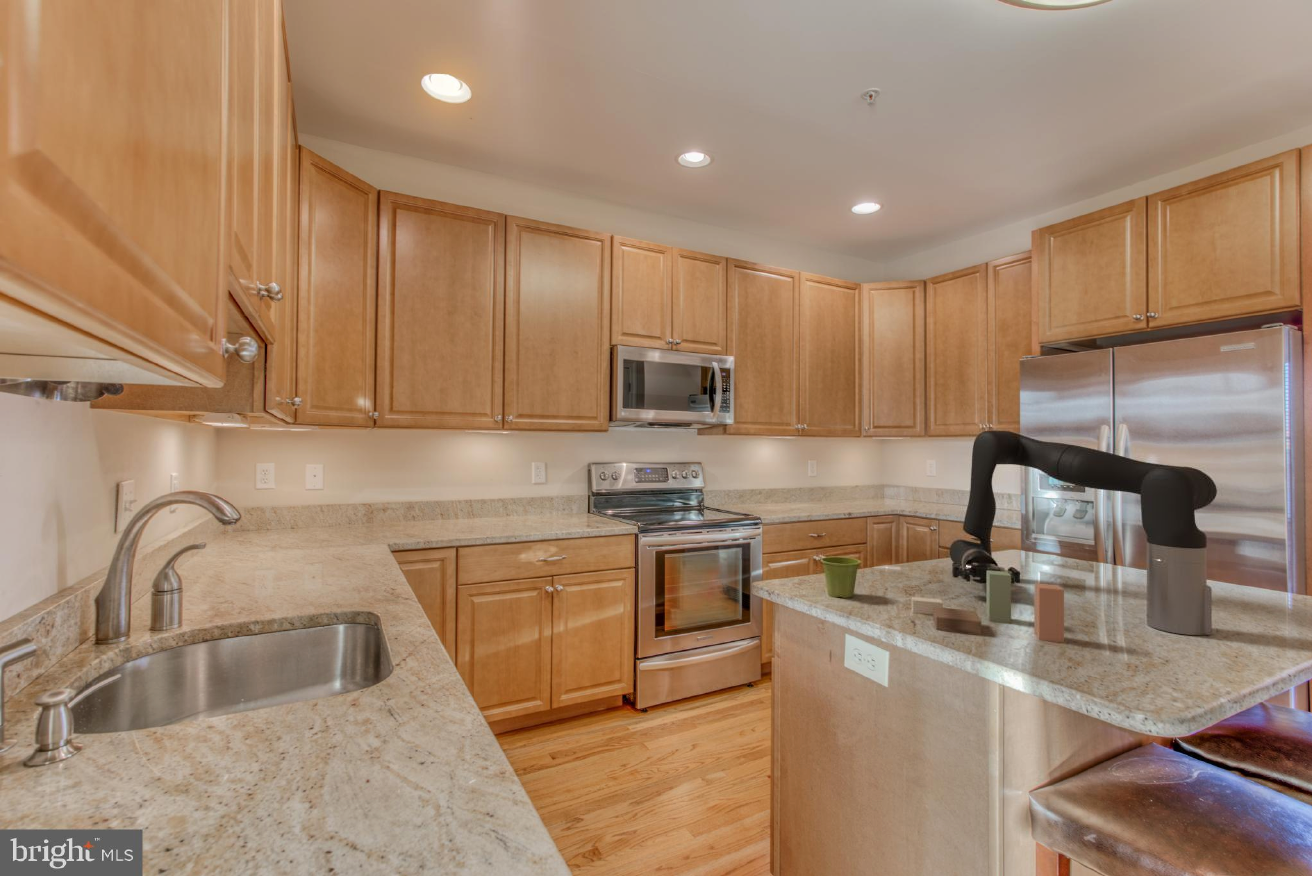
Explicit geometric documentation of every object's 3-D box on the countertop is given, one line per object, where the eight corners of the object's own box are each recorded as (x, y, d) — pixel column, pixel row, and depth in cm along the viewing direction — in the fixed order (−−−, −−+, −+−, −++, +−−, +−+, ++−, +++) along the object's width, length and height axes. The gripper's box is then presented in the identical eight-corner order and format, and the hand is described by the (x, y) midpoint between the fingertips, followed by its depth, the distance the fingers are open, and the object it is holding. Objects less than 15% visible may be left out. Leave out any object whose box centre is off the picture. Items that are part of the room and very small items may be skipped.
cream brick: (940, 612, 132) (940, 599, 132) (942, 616, 129) (942, 602, 129) (911, 610, 134) (911, 596, 134) (913, 613, 131) (913, 600, 131)
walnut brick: (975, 625, 124) (975, 611, 124) (981, 636, 116) (981, 621, 116) (933, 620, 127) (933, 606, 127) (936, 631, 119) (936, 616, 119)
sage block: (1007, 618, 128) (1007, 571, 128) (1011, 623, 124) (1011, 575, 124) (986, 616, 129) (986, 570, 129) (989, 621, 125) (989, 574, 126)
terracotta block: (1058, 636, 116) (1058, 585, 116) (1063, 642, 112) (1063, 589, 112) (1034, 633, 117) (1034, 583, 117) (1039, 639, 114) (1039, 587, 114)
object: (838, 601, 140) (839, 565, 140) (812, 592, 148) (812, 558, 148) (868, 597, 144) (869, 562, 144) (841, 589, 152) (841, 555, 152)
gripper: (948, 548, 155) (955, 560, 140) (1010, 553, 150) (1025, 565, 135) (948, 577, 155) (955, 592, 140) (1010, 582, 150) (1024, 598, 135)
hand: (989, 579), depth 137 cm, fingers open, 8 cm apart
